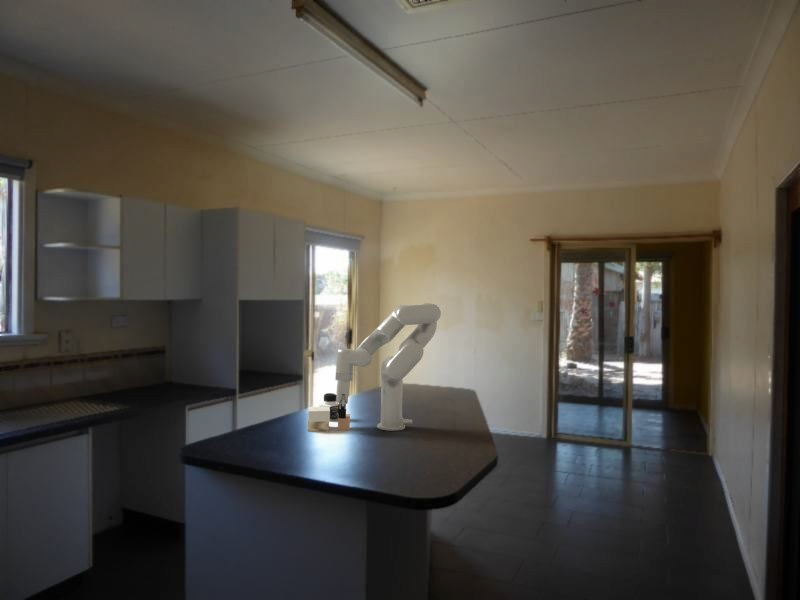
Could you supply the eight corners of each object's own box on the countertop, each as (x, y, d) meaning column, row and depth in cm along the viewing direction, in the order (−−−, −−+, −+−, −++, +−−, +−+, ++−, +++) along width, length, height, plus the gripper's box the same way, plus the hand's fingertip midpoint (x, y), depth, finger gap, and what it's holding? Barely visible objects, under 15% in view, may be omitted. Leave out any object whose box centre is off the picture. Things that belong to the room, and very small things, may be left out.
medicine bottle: (329, 421, 259) (330, 395, 259) (318, 419, 263) (319, 393, 263) (340, 419, 265) (341, 393, 265) (329, 416, 269) (330, 391, 269)
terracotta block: (349, 427, 249) (349, 413, 249) (349, 430, 244) (350, 416, 244) (337, 427, 248) (338, 414, 248) (338, 430, 243) (338, 416, 243)
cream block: (328, 416, 250) (329, 406, 250) (329, 421, 241) (329, 410, 241) (308, 417, 248) (308, 406, 248) (308, 421, 239) (308, 411, 239)
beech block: (328, 427, 250) (329, 416, 250) (328, 431, 241) (329, 421, 241) (308, 427, 248) (308, 417, 248) (307, 432, 240) (307, 421, 240)
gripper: (335, 373, 254) (332, 411, 254) (335, 379, 237) (333, 420, 237) (351, 374, 255) (349, 412, 255) (353, 380, 238) (351, 420, 238)
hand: (341, 415), depth 246 cm, fingers open, 9 cm apart
